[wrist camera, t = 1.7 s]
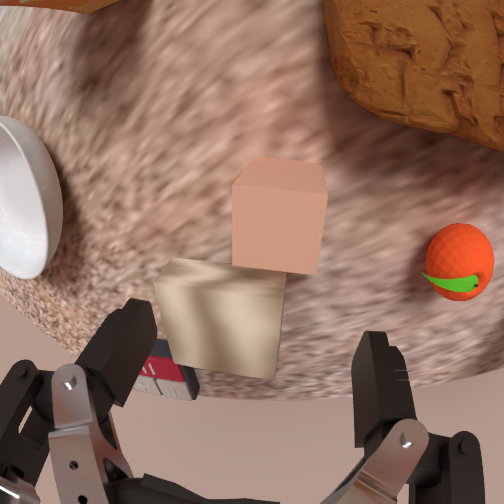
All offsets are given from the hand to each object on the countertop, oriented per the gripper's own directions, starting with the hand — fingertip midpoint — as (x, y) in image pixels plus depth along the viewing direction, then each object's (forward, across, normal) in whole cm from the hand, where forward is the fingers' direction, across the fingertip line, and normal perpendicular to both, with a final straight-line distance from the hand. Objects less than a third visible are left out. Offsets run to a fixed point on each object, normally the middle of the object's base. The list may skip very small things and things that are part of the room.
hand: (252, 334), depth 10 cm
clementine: (+16, -16, +3) cm, 23 cm away
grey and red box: (+17, +18, +28) cm, 37 cm away
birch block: (+17, +5, +14) cm, 23 cm away
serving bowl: (+17, +32, 0) cm, 36 cm away
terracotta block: (+16, 0, 0) cm, 17 cm away
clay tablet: (+17, -13, -16) cm, 27 cm away
